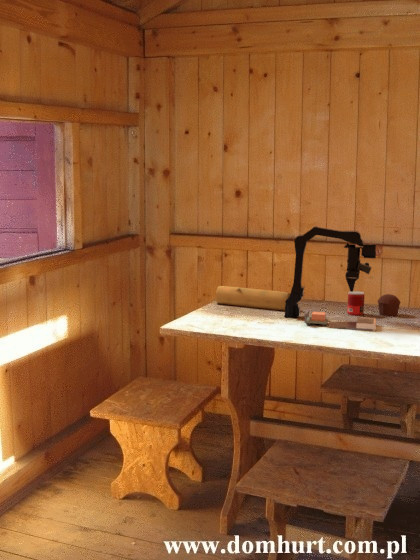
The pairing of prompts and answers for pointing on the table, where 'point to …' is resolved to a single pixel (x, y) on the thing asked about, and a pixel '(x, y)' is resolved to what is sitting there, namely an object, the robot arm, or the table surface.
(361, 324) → the dock
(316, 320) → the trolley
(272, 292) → the log
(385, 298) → the muffin
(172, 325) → the table surface
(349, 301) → the canned food
